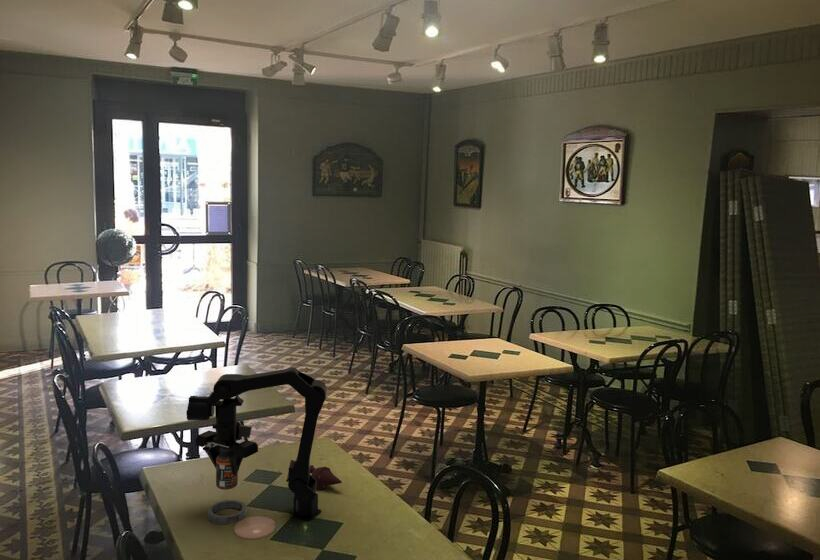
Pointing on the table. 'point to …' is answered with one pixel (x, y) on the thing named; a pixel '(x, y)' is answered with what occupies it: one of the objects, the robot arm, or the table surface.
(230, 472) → the supplement bottle
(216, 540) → the table surface
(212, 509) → the cup collar
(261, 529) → the terracotta saucer
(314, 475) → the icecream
